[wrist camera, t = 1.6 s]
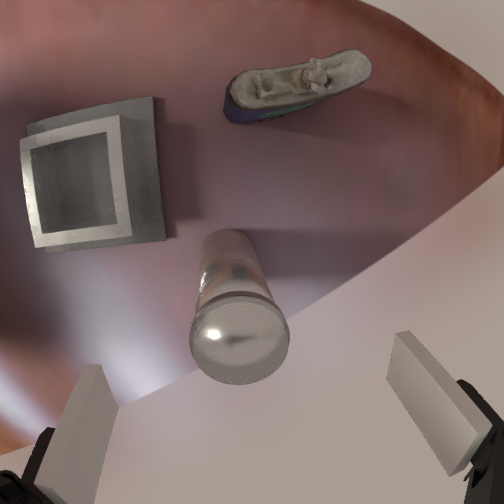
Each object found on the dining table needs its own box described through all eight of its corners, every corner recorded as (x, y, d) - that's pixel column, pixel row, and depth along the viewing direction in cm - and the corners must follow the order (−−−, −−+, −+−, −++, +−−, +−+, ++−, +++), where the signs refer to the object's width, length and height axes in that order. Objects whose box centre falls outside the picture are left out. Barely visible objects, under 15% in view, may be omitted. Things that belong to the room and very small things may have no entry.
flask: (321, 71, 24) (380, 38, 14) (332, 102, 25) (397, 85, 15) (217, 100, 24) (220, 71, 14) (229, 132, 25) (240, 124, 15)
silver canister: (202, 283, 29) (197, 391, 16) (195, 229, 27) (180, 309, 14) (257, 278, 29) (292, 380, 16) (254, 223, 28) (292, 298, 14)
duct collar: (48, 251, 26) (24, 269, 21) (31, 124, 22) (2, 123, 18) (167, 237, 27) (158, 256, 23) (154, 97, 23) (141, 87, 19)
